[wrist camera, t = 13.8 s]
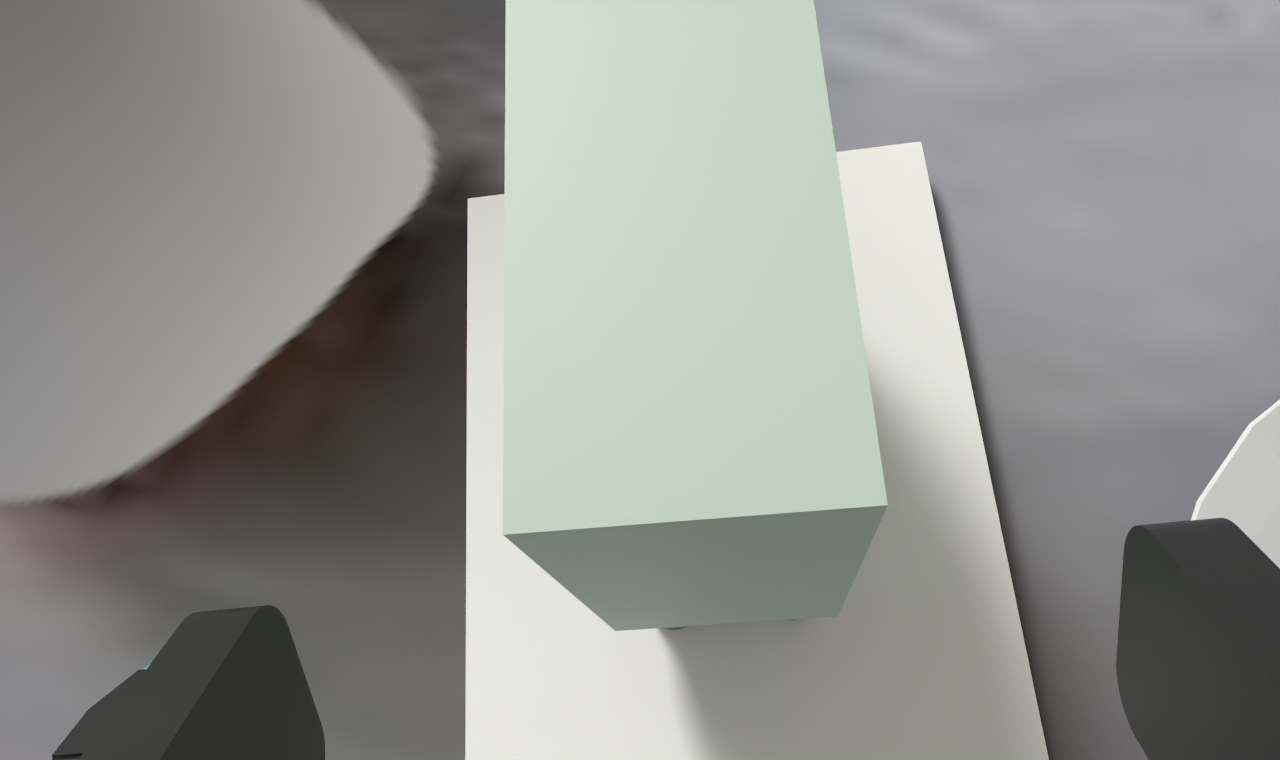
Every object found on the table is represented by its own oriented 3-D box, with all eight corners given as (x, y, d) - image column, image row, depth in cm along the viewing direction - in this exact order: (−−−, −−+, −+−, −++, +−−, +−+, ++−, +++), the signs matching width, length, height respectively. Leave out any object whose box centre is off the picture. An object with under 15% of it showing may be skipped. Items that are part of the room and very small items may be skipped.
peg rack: (482, 824, 25) (425, 836, 21) (481, 223, 32) (437, 141, 28) (1038, 788, 24) (1095, 793, 20) (914, 169, 31) (936, 76, 26)
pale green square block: (615, 630, 22) (502, 534, 13) (600, 245, 26) (505, -44, 17) (837, 616, 22) (888, 505, 12) (790, 226, 25) (801, -85, 16)
